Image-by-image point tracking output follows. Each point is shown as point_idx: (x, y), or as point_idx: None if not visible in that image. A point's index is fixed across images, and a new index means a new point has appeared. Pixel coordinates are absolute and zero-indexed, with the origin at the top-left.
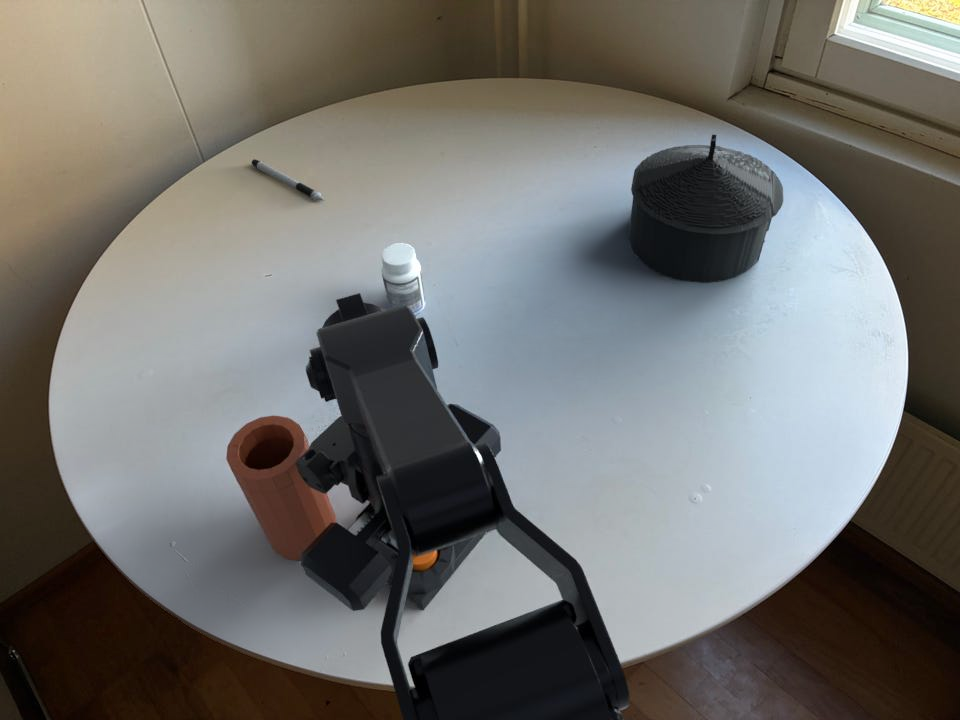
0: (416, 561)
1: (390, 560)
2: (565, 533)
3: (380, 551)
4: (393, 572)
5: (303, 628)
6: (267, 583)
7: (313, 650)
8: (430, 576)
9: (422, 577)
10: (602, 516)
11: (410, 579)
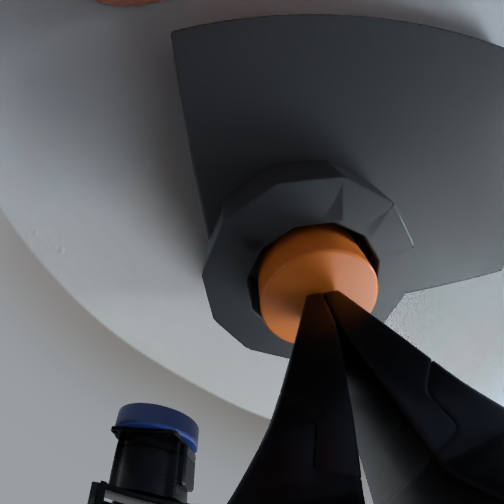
0: (282, 329)
1: (231, 243)
2: (465, 335)
3: (245, 142)
4: (211, 279)
5: (20, 154)
6: (21, 20)
7: (21, 206)
8: (279, 345)
9: (262, 339)
10: (492, 342)
11: (234, 322)
